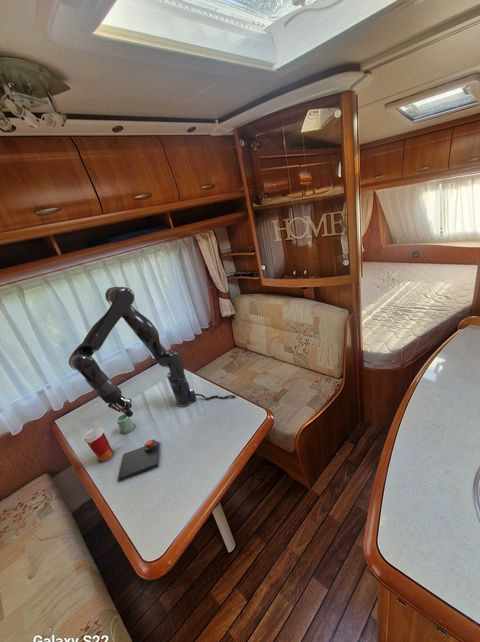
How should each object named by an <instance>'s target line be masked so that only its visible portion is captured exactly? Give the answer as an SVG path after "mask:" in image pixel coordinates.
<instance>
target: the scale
mask: <svg viewBox="0 0 480 642" xmlns="http://www.w3.org/2000/svg"><path fill="white" fill-rule="evenodd" d="M151 440H152V441H153V443H154V444H153V446H152V447H149V448H148V447H147V446H146V443H145V444H144V445H143V446H141V447H139V448H136V449H133V450H130V451H128V452H124V453H123V455H122V459H121V464H120V468H119V469H120V470H119V474H118V477H117V479H118V481H119V482H120V481H123V480H126V479H129V478H130V477H131V478H132V477H134V476H136V475H140V474H142V473H144V472H147V471H150V470H153V469H156V468H158V467H159V456H160V442H159V441H157V440H156V439H151Z"/></svg>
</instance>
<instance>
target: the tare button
mask: <svg viewBox="0 0 480 642" xmlns="http://www.w3.org/2000/svg"><path fill="white" fill-rule="evenodd" d="M152 440H153V439H149V440H147V441H146V442H145V444H146V446H147V447H148V448H149V447H152V446H153V444H154V443H153V441H152Z"/></svg>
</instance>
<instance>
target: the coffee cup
mask: <svg viewBox="0 0 480 642" xmlns="http://www.w3.org/2000/svg"><path fill="white" fill-rule="evenodd" d="M83 441H84V442H85V443H86V444H87V445H88V447H89V448H90V449H91V452H92V453H94V455H95V457H97V459H98V460H99V462H106V461H108V460H110V458H112V457H113V456H114V451H113V450H112V447H111V445H110V443H109V441H108V438H107V436H106V434H105V430H104V428H101V427H95V428H91V429H90V430H88V431H87V432H86V433H85V434H84V436H83Z"/></svg>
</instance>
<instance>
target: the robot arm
mask: <svg viewBox="0 0 480 642" xmlns="http://www.w3.org/2000/svg"><path fill="white" fill-rule="evenodd" d="M104 299H105V301H106V303H107V305H109V308H108V309H107V311H106V312H105V313H104V314H103V315H102V316H101V317H100V318H99V319H98V320H97V321H96V322H95V323H94V324H93V325H92V326H91V327H90V329H89V330H88V332H87V333H86V335H85V336H84V338H83V340H82V342H81V343H80V344H79V345H78V346H77V347H76V348H75V349H74V350H73V351H72V353H71V354H70V357H69V358H68V366H69V367H70V368H71V369H72V370H75V371H77V372H78V373H79V374H81V375H82V377H83V378H84V380H85V382H86V383H87V384H88V385H89V387H91V389H92V390H93V391H94V392H95V393H96V394H97V395H98V397H100V399H101V400H102V401H103V402H104V403H105V404H108V405H107V407H108V408H110V409H111V410H113V411H116V412H118V413H120V412H121V413H123V414H126V415H127V416H128V417H130V418H131V417H132V416H133V415H134V412H133V411H132V410H131V408H132V403H133V402H132V398H128V399H126V397H125V396H123V394H122V390H121V389H120V388H119V387H118V386H117V384H116V383H115V382H114V381H113V380H112V379H111V378H110V377H108V375H107V374H106V373H105V372H104V371H103V370H102V369H101V367H100V366H99V364H98V362H97V360H96V359H94V358H93V357H92V356H93V355H94V354H95V353H96V352H97V351H100V349H101V348H102V346H103V345H104V343H105V342H106V341H107V338H108V337H109V335H110V333H111V332H112V330H113V329H114V327H115V326H116V325H117V323H118V322H119V321H120V320H121V318H122V319H123V321H124V322H125V323H126V324H127V326H128V327H129V328H130V329H131V330H132V332H133V333H134V334H135V336H136V337H137V338H138V339H139V340H140V341H141V342H142V343H143V345H144V346H145V347H146V348H147V349H148V350H149V352H150V353H151V355H152V356H153V358H154V359H155V361H156V362H157V364H158V365H159V366H160V367H161V368H166V369H169V372H167V374H166V378H167V381H168V384H169V385H170V388H171V390H172V393H173V395H174V399H175V401H176V404H177V406H179V407H186V406H188V405H190V404H191V403H193V402H194V400H196V399H197V397H201V398H203V399H204V398H206V399H205V400H211V399H214V398H219V399H228V398H233V399H234V398H236V395H233V394H228V395H225V396H221V397H218V396H219V395H216V396H215V395H212V396H210V397H206V395H204V394H202V393H201V394H200V393H196V392H195V390H192V389H191V386H190V383H189V382H188V379H187V376H186V374H185V366H184V363H183V360H182V357H181V355H180V353H179V352H178V351H175V350H168V349H166V348H165V347H164V346H163V345H162V343H161V341H160V334H159V331H158V329H157V327H156V326H155V325H154V324H153V323H152V321H151V320H150V319H149V318H147V317H146V316H145V315H144V314H142V313H141V312H140V311H138V310H137V309H136V308H134V306H133V304H134V302H135V293H134V291H133V290H132V289H130V288H129V287H126V286H113V287H112V286H111V287H109V288H107V289H106V291H105V293H104ZM230 396H231V397H230ZM223 397H224V398H223Z"/></svg>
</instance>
